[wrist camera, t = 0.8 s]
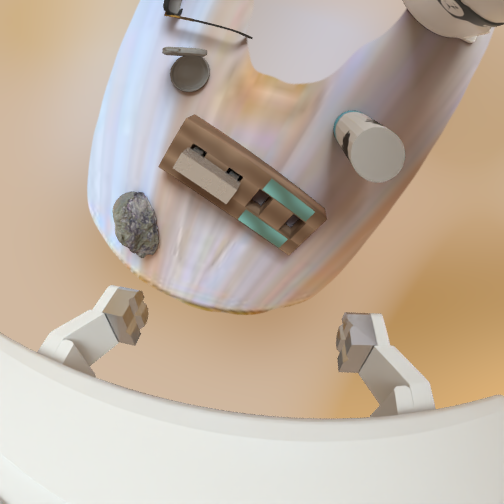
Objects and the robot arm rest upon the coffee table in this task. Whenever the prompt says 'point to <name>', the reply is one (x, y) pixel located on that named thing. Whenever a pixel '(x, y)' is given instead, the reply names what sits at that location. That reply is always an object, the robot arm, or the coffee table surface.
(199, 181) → the tall white block
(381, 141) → the cup
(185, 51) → the pocket watch
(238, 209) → the slotted brown block
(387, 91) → the coffee table surface
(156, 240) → the mineral rock
